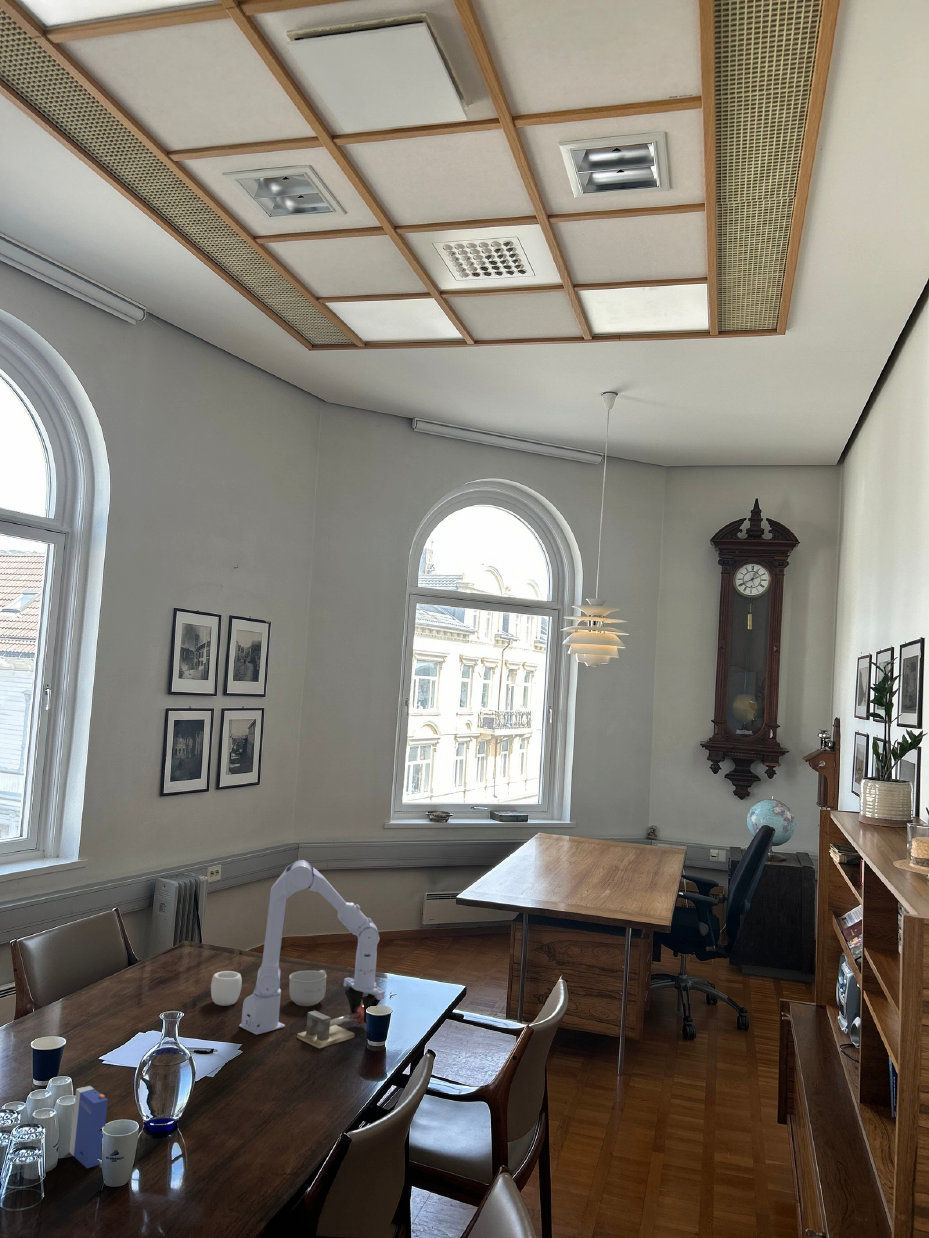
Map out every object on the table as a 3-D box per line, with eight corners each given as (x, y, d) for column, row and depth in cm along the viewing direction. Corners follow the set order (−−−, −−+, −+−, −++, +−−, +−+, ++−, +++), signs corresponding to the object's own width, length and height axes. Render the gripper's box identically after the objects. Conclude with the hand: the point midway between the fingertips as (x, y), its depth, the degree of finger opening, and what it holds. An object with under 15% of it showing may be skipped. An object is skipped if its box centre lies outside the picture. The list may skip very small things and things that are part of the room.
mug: (239, 1007, 254) (242, 979, 255) (208, 1008, 252) (211, 979, 253) (240, 993, 266) (242, 966, 266) (210, 993, 264) (213, 966, 264)
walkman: (101, 1163, 168) (108, 1097, 169) (87, 1168, 166) (94, 1101, 167) (83, 1147, 174) (90, 1082, 175) (68, 1151, 172) (75, 1086, 173)
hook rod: (329, 1036, 235) (331, 1018, 235) (318, 1031, 238) (320, 1013, 238) (369, 1024, 245) (370, 1007, 246) (358, 1019, 248) (359, 1002, 249)
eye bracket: (319, 1048, 229) (321, 1022, 230) (297, 1037, 235) (299, 1012, 236) (354, 1037, 238) (356, 1012, 239) (332, 1027, 244) (334, 1003, 245)
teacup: (304, 1012, 254) (307, 983, 255) (279, 1002, 261) (281, 973, 262) (339, 1001, 265) (342, 973, 266) (314, 991, 272) (316, 964, 273)
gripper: (394, 972, 246) (390, 1023, 244) (358, 959, 255) (354, 1008, 254) (375, 977, 240) (371, 1029, 239) (339, 963, 250) (335, 1014, 249)
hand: (361, 1019), depth 246 cm, fingers closed on hook rod, 5 cm apart
